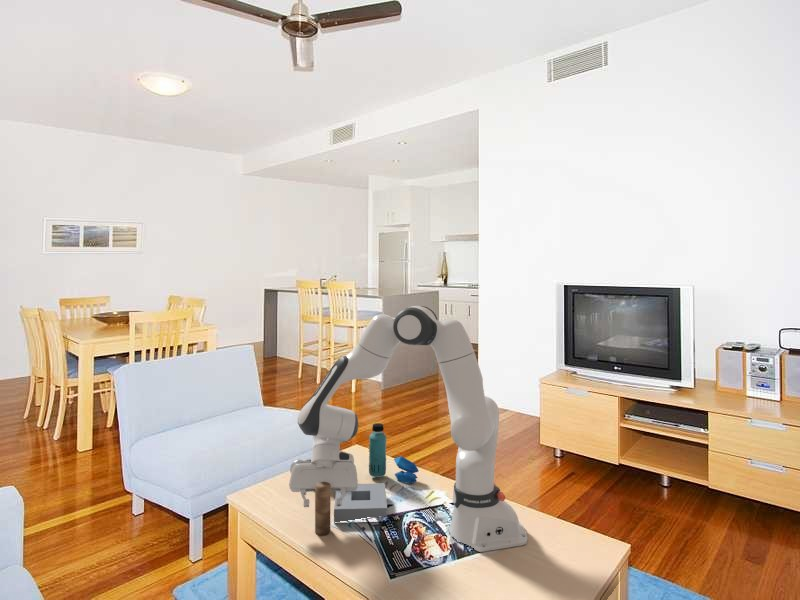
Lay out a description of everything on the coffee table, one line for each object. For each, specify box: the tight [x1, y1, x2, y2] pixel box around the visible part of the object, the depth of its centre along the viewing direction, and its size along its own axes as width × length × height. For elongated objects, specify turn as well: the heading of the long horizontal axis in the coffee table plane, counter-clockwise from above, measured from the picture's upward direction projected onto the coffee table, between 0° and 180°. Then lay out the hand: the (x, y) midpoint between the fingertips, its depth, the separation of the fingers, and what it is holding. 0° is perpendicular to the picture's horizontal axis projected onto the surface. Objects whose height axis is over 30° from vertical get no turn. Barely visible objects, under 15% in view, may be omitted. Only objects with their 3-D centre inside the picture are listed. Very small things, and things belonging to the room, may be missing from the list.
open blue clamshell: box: [393, 456, 419, 484], centre depth 171 cm, size 7×8×11 cm
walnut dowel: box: [314, 482, 331, 537], centre depth 138 cm, size 4×4×14 cm
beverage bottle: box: [368, 422, 387, 478], centre depth 173 cm, size 6×7×20 cm
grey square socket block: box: [333, 482, 388, 524], centre depth 151 cm, size 16×16×4 cm
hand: (322, 506), depth 138 cm, fingers open, 8 cm apart
